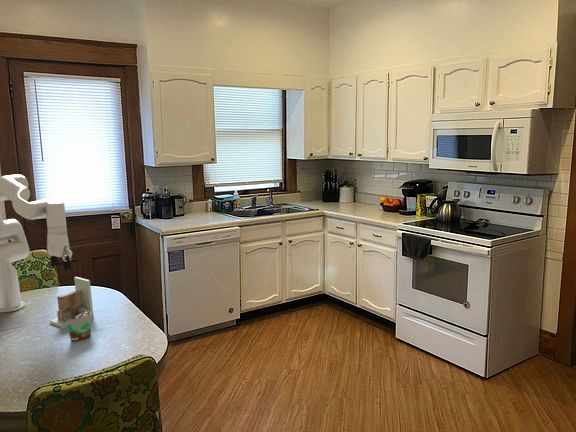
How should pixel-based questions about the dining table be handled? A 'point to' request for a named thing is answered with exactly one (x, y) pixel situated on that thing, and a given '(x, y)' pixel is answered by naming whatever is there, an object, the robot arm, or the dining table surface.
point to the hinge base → (86, 302)
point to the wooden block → (69, 303)
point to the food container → (80, 326)
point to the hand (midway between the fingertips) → (61, 267)
